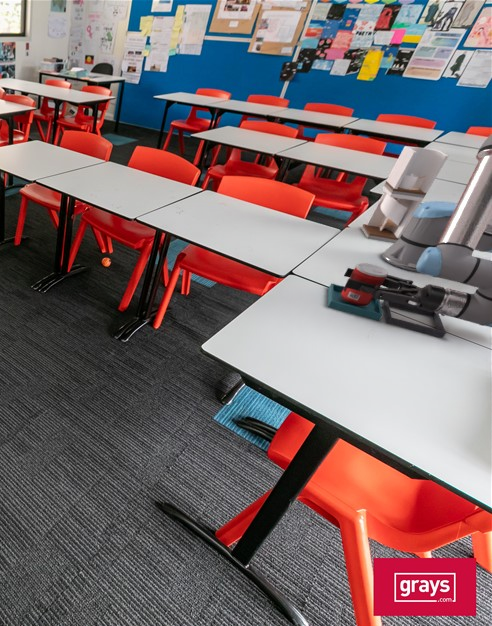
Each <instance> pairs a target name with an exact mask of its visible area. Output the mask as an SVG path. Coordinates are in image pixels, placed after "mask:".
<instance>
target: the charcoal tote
mask: <svg viewBox="0 0 492 626" xmlns="http://www.w3.org/2000/svg"><path fill="white" fill-rule="evenodd" d="M381 306H382V311H383V314H384V320H385V323H386V324H387V325H392V326H394V327H395V326H396V327H399V328H403V329H406V330H410V331H413V332H416V333H420V334H424V335H428V336H432V337H436V338H439V339H443V338H444V337H445V335H446V334H447V331H446V329H445V326H444V324H443V322H442V319H441V315H440V314H438V313H435V312H434V311H432V312H430V311H426V310H422V309H418V308H417V307H416V306H415V307H410V306H407V305H403V304H398V303H393V302H389V301H384V300H382V303H381ZM391 307H392V308H397V309H400V310H403V311H407V312H412V313H416V314H419V315H423V316H427V317H431V318H432V322H433V324H434V327H435V328H433V327H429V326H425V325H422V324H417V323H414V322H411V321H407V320H403V319H400V318H395V317H392V312H391Z"/></svg>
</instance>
